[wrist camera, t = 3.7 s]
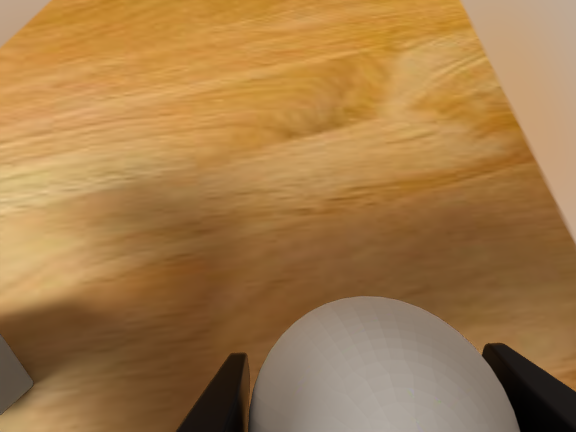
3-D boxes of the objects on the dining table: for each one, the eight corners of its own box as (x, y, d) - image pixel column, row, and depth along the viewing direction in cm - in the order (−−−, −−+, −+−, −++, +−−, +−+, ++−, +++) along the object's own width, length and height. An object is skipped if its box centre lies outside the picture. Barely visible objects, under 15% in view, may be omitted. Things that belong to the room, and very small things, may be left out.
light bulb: (318, 289, 16) (344, 219, 7) (434, 365, 15) (669, 410, 5) (244, 407, 14) (142, 534, 5) (367, 503, 13) (533, 905, 4)
